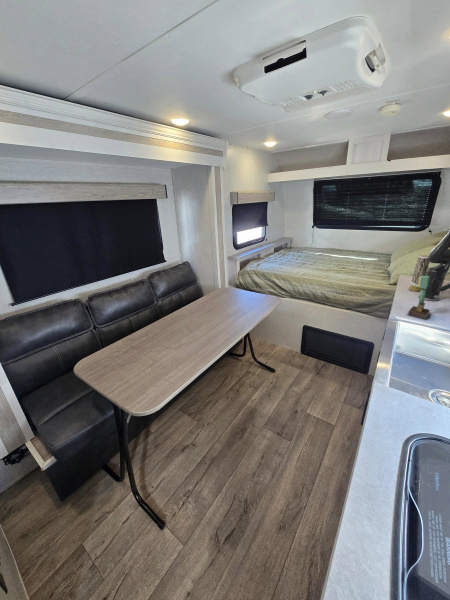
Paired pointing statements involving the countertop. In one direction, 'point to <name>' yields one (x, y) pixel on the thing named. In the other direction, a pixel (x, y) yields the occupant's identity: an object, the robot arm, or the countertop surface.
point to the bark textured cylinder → (419, 271)
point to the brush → (423, 287)
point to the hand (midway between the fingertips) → (440, 290)
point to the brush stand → (419, 311)
